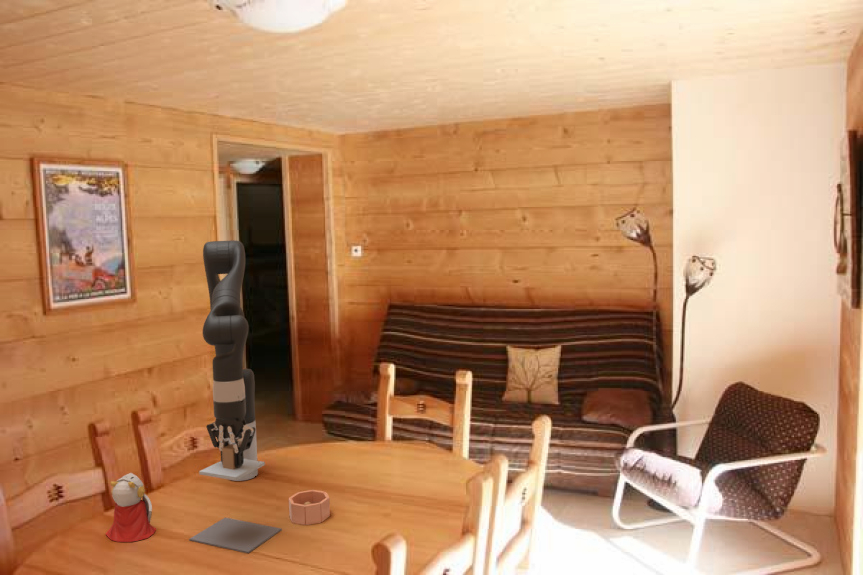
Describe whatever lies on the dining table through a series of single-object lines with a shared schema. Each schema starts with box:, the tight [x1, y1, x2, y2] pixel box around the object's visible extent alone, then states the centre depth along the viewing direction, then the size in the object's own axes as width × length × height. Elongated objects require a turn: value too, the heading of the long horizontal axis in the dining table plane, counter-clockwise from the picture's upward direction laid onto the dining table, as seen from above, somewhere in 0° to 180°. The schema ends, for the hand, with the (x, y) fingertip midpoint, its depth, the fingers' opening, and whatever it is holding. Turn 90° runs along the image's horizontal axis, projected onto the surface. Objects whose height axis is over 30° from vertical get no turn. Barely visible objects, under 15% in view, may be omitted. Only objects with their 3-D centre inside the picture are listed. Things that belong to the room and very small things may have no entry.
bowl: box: [288, 489, 331, 526], centre depth 178 cm, size 10×10×5 cm
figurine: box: [105, 472, 157, 543], centre depth 171 cm, size 13×12×15 cm
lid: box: [198, 444, 266, 482], centre depth 166 cm, size 11×11×6 cm
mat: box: [188, 517, 283, 554], centre depth 168 cm, size 18×13×1 cm
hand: (232, 465), depth 167 cm, fingers closed on lid, 3 cm apart
